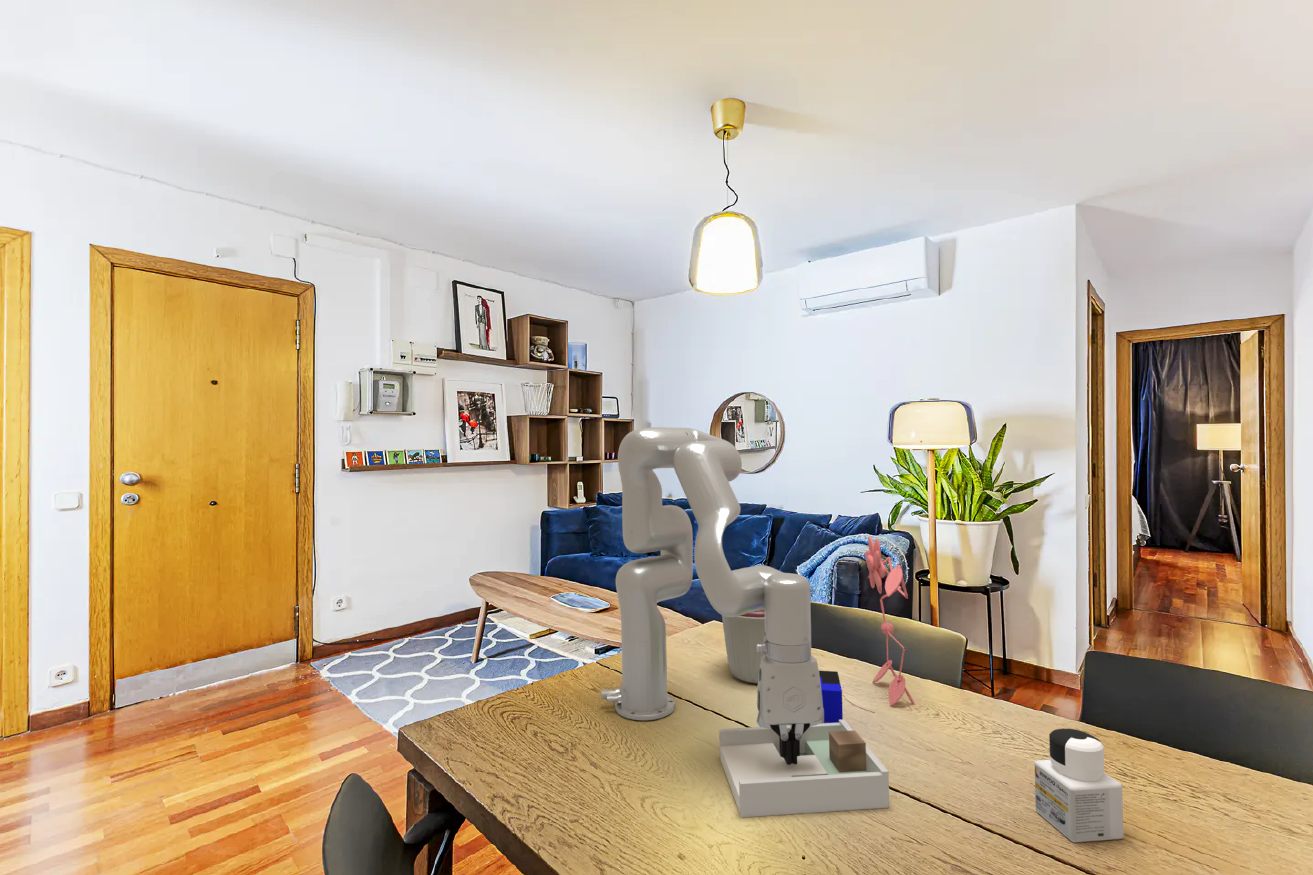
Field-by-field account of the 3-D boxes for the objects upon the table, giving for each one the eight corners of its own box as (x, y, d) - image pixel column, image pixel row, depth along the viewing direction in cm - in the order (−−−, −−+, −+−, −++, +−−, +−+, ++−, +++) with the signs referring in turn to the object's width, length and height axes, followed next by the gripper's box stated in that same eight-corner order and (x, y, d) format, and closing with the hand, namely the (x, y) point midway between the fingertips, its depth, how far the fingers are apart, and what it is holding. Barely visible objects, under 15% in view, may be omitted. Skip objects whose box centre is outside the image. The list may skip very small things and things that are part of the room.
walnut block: (839, 772, 101) (838, 744, 101) (829, 758, 106) (828, 731, 106) (866, 770, 101) (865, 743, 101) (855, 756, 106) (854, 730, 106)
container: (1034, 810, 94) (1032, 724, 94) (1082, 807, 95) (1080, 721, 95) (1072, 843, 86) (1070, 749, 86) (1124, 839, 87) (1122, 746, 87)
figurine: (895, 673, 150) (889, 527, 150) (931, 721, 124) (923, 545, 124) (830, 673, 151) (824, 528, 152) (851, 721, 126) (844, 547, 126)
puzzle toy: (843, 745, 115) (842, 691, 115) (787, 741, 117) (786, 687, 117) (838, 721, 125) (837, 671, 125) (787, 717, 127) (786, 668, 127)
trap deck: (741, 817, 94) (740, 780, 94) (719, 757, 112) (719, 726, 112) (889, 807, 95) (888, 771, 95) (844, 749, 113) (844, 719, 113)
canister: (796, 665, 156) (795, 580, 157) (796, 693, 139) (794, 598, 139) (724, 660, 161) (723, 578, 161) (715, 687, 143) (713, 595, 143)
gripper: (749, 659, 99) (750, 775, 99) (840, 655, 101) (842, 769, 100) (738, 644, 107) (740, 751, 107) (823, 640, 108) (825, 746, 108)
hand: (789, 760), depth 104 cm, fingers closed
